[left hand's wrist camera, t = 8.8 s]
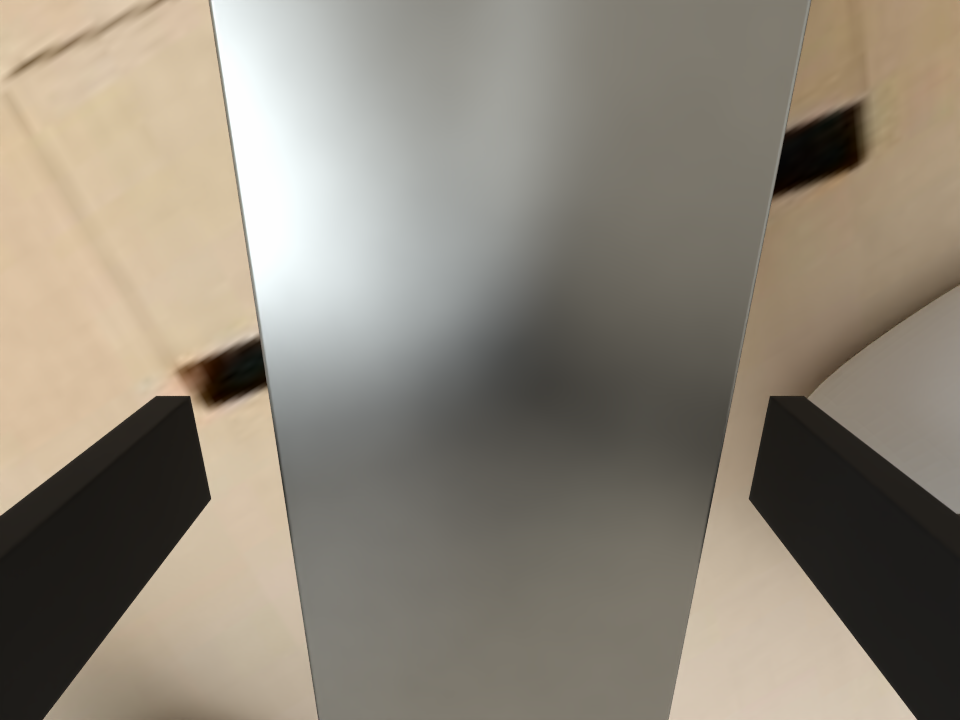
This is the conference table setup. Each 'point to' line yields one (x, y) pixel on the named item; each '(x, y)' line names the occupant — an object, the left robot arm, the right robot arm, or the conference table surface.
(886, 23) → the conference table surface
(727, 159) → the bar
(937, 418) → the projector
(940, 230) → the conference table surface
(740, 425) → the conference table surface
